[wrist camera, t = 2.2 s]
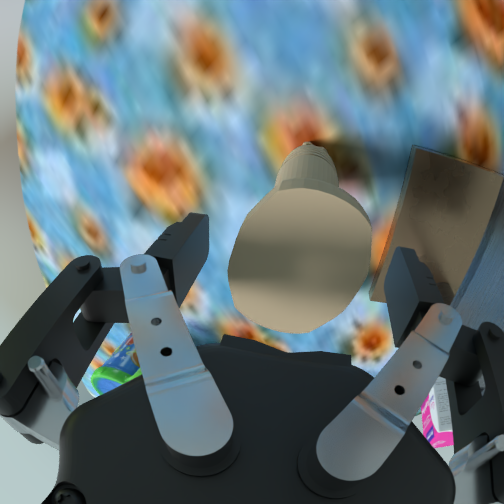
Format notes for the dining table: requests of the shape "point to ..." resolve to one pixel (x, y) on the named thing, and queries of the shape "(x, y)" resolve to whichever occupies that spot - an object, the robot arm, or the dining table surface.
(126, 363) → the snack cup
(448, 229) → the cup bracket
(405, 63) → the dining table surface
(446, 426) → the supplement box
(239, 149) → the dining table surface
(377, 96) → the dining table surface
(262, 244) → the handle
